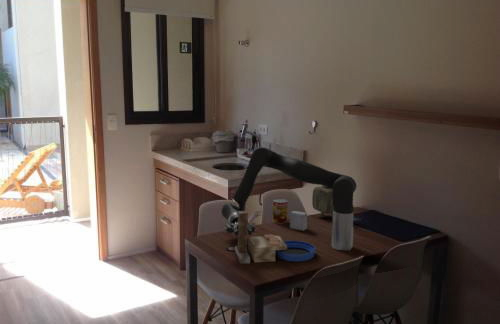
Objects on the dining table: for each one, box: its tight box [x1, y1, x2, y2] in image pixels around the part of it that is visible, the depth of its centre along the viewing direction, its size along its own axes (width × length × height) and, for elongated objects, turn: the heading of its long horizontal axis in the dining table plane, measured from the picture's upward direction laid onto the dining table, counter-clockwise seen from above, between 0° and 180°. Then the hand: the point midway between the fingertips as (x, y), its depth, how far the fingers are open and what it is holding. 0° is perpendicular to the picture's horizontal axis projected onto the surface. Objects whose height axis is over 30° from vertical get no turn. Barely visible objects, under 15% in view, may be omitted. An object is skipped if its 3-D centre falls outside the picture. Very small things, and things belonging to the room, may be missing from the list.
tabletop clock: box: [311, 185, 333, 219], centre depth 255 cm, size 14×9×25 cm, turn 32°
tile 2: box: [269, 237, 280, 242], centre depth 196 cm, size 4×4×1 cm
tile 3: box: [263, 233, 276, 240], centre depth 200 cm, size 4×4×1 cm
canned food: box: [272, 198, 289, 225], centre depth 247 cm, size 8×8×12 cm
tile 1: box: [269, 241, 280, 246], centre depth 192 cm, size 4×4×1 cm
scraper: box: [234, 210, 251, 265], centre depth 193 cm, size 4×15×20 cm, turn 11°
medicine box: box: [289, 210, 308, 231], centre depth 235 cm, size 8×4×9 cm, turn 58°
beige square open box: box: [247, 235, 287, 263], centre depth 196 cm, size 14×14×6 cm
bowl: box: [275, 240, 316, 262], centre depth 199 cm, size 18×18×4 cm
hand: (243, 233), depth 190 cm, fingers open, 5 cm apart
